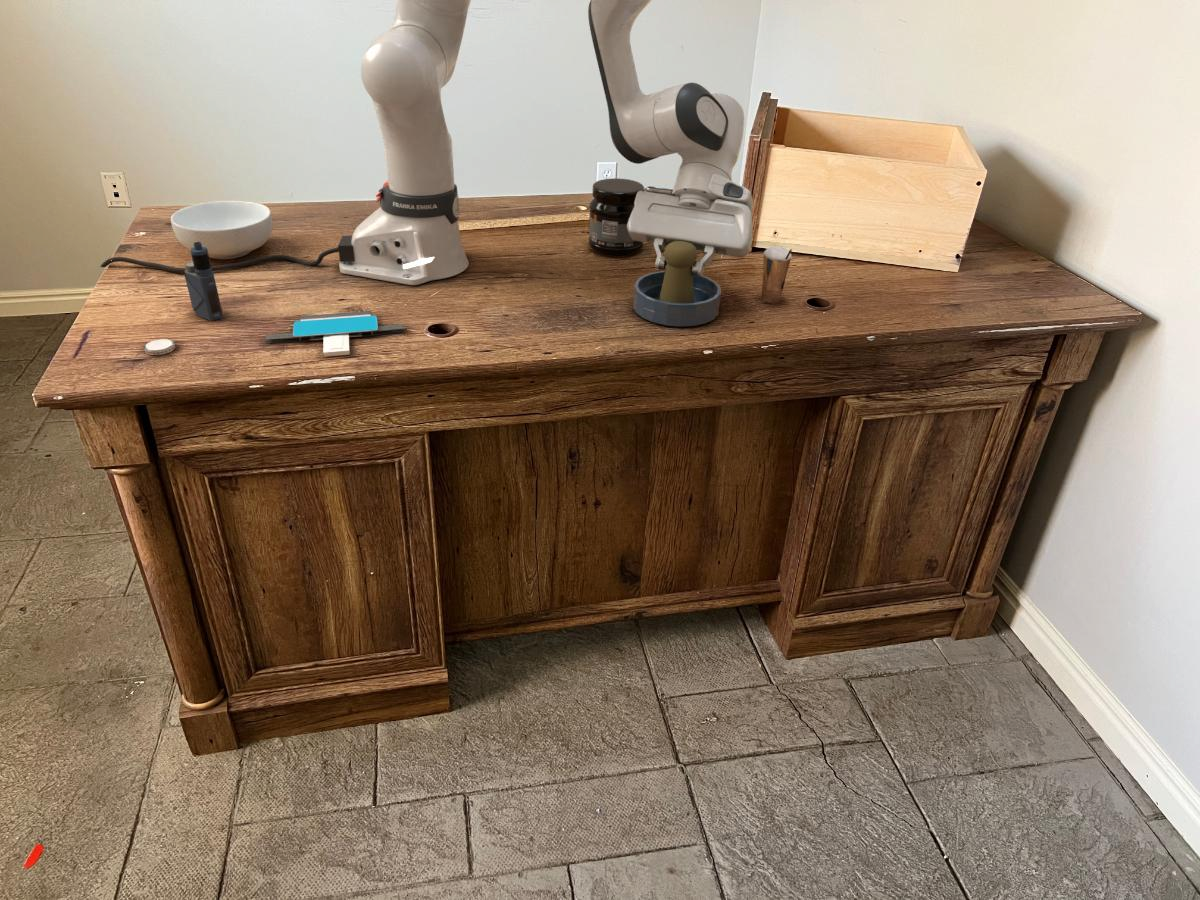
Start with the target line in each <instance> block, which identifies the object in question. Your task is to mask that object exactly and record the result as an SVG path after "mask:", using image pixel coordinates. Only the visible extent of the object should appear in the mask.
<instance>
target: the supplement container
mask: <svg viewBox="0 0 1200 900" xmlns="http://www.w3.org/2000/svg"><path fill="white" fill-rule="evenodd" d="M642 189H645V186H644V185H643V184H642V183H641V182H639V181H637V180H633V179H628V178H617V177H616V178H615V177H614V178H613V177H612V178H603V179H600V180H597V181H595V182H594V183H593V184H592V192H591V193H592V195H591V196H592V198H591V199H590V201H589V203H588V208H589V225H588V227H589V229H588V230H589V231H588V232H589V233H588V234H589V235H588V246H589V247H590V249H591V250H593V251H594V252H595V253H597V254H599V255H603V256H609V257H617V258H618V257H628V256H633V255H635V254H637V253H639V252H640V251H641V250H642V249H643V246H644V242H640V241H634V240H632V238H631V237H630V235H629V233H628V230H627V223H628V220H629V218H630V215H631V213H632V210H633V208H634V201H635V198H636V195H637V193H638V191H640V190H642Z"/></svg>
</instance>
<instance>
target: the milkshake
mask: <svg viewBox="0 0 1200 900" xmlns="http://www.w3.org/2000/svg"><path fill="white" fill-rule="evenodd" d="M792 251H793V249H792V248H791V249H789V250H788V248H785V247H782V246H779V245H774V246H769V247H768V248H766V249H765V250H764V251H763V259H762V260H763V261H762V262H763V263H762V283H761V301H762V302H764V303H767V304H778V303H781V300H782V296H783V293H784V292H783V291H784V287H785V283H786V278H787V274H788V271H789V267H790V265H791V259H792V255H793V254H792V253H791V252H792Z"/></svg>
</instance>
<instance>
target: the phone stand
mask: <svg viewBox="0 0 1200 900" xmlns="http://www.w3.org/2000/svg"><path fill="white" fill-rule="evenodd" d="M402 333H403V334H404V333H405V325H404V324H403V323H401V324H391V325H389V324H388V325H387V324H386V325H379V323H378V317H377V315H373V312H372V310H364V311H350V312H337V313H324V314H311V315H309V314H308V315H299V316H298V318H297V320H296V321H294V322H293V329H292V332H286V333H276V334H275V333H274V334H266V335H265V340H266V344H277V343H278V344H283V343H284V344H285V343H296V342H297V343H298V342H309V341H320V340H323V343H322V344H323V345H322V346H323V347H322V348H323V349H322V350H323V352H322V354H323V358H326V357H335V356H350V355H351V351H350V338H359V337H360V338H361V337H370V336H371V337H372V336H383V335H394V334H402ZM280 346H281V345H279V347H280Z"/></svg>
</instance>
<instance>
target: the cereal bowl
mask: <svg viewBox="0 0 1200 900" xmlns="http://www.w3.org/2000/svg"><path fill="white" fill-rule="evenodd" d="M170 224H171V228H172V231H173V234H174V236H175V237H176V239H177V241H178V242H179V243H180V244H181V245H182V246H183V247H184V248H186V249H188V250H189V251H190V249H192V248H194V244H193V243H195V242H201V245H202V247H206V248H207V250H208V254H209V259H210V258H211V259H214V260H232V259H238V258H242V257H245V256H247V255H249V254H250V253H251V252H253V251H254V250H257V249H258V248H260V247H262V246H263V245H265V244H266V242H267V241H268V240H269V239H270V237H271V235H272V233H273V216H272V211H271V209H270V208H269V207H268V206H266V205H265V204H261V203H258V202H253V201H246V200H216V201H215V200H214V201H208V202H200V203H196V204H192V205H188V206H185V207H182V208H180V209H178V210H176V211H175V212H174V213H173V214H172V215H171V217H170Z"/></svg>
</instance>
